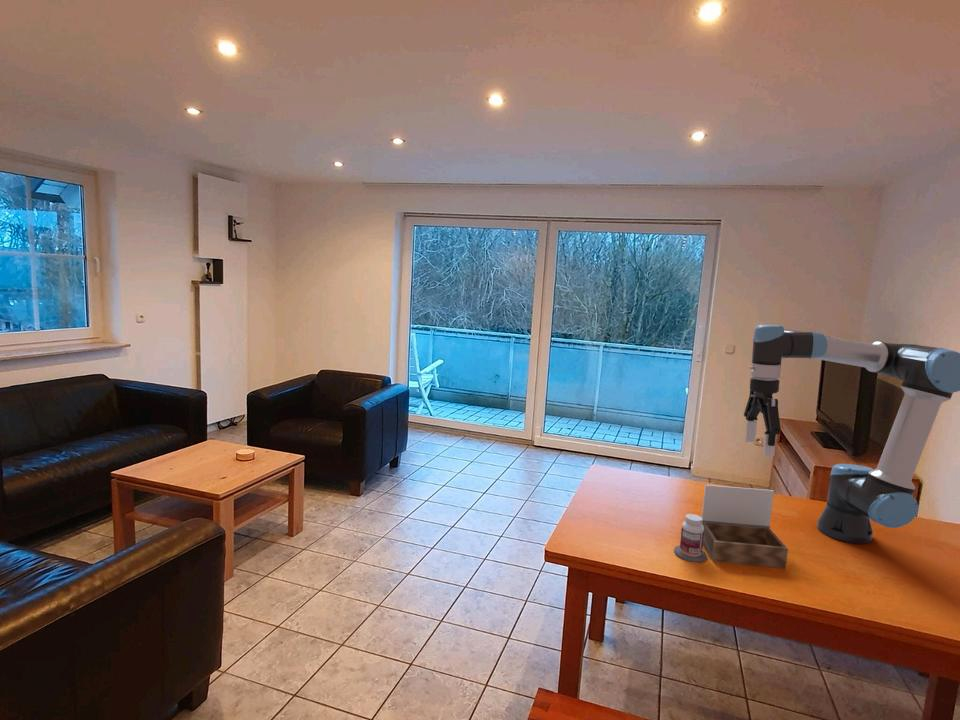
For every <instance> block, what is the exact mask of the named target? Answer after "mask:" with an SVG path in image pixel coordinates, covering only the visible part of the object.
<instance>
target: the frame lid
mask: <svg viewBox="0 0 960 720" xmlns="http://www.w3.org/2000/svg"><path fill="white" fill-rule="evenodd" d="M703 493H704V494H703V502H702V510H701V517H702V519H703V520H702V523H712V524H723V525H735V526H746V527H757V528H769V529H771V526H770V524H771V518H772V517H771V516H772V509H773V501H774V495H775V494H774V493H775V491H774V489H764V488H763V489H762V488H752V487H751V488H749V487H738V486H727V485H726V486H725V485H716V484H715V485H713V484H704V491H703Z"/></svg>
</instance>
